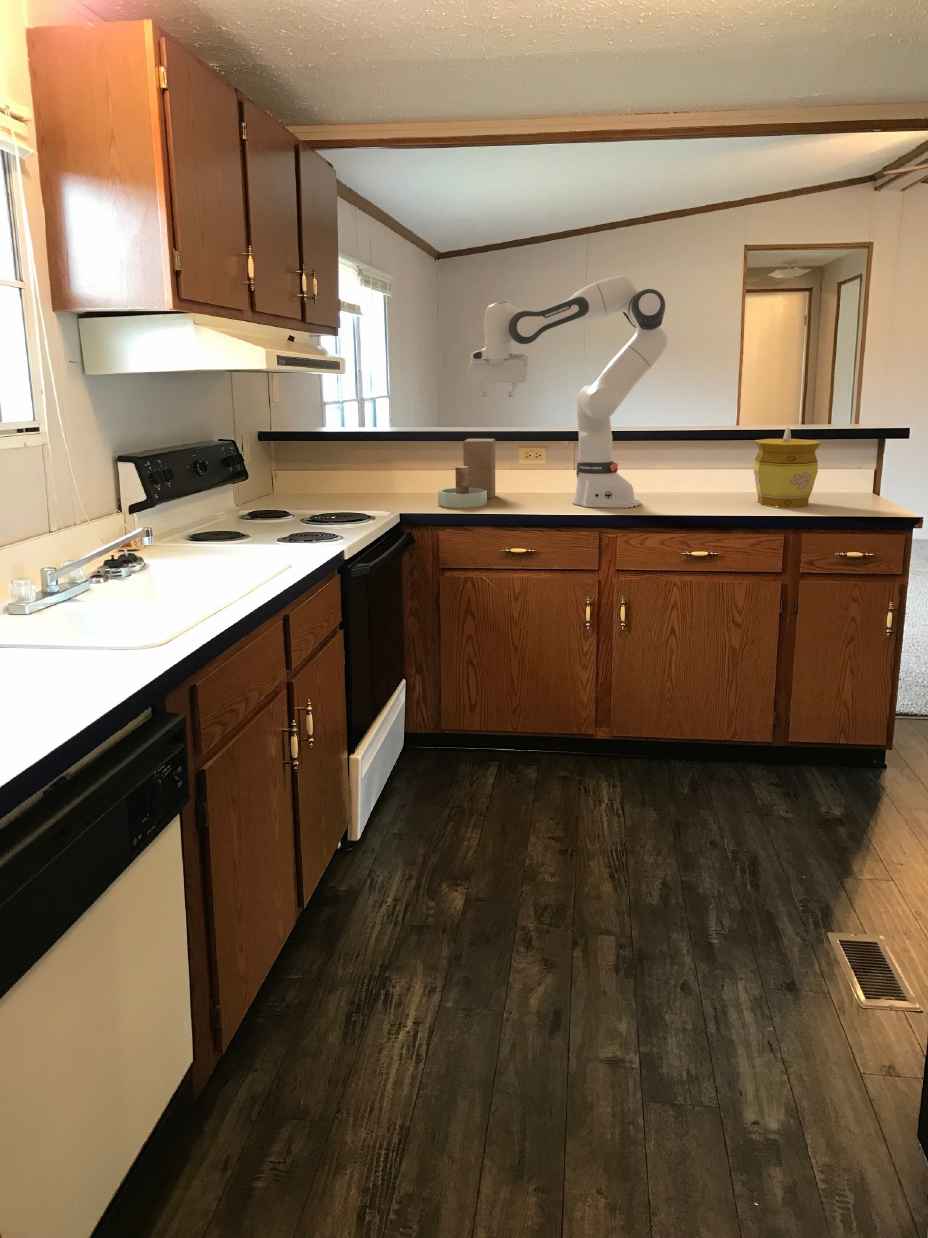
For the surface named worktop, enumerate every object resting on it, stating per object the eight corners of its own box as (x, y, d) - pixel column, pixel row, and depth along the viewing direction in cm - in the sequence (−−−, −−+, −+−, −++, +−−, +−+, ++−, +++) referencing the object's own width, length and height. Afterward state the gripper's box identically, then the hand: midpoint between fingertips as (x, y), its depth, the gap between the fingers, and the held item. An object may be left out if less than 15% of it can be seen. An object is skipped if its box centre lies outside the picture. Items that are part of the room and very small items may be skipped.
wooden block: (491, 499, 345) (491, 441, 340) (463, 498, 347) (462, 441, 341) (495, 495, 355) (495, 438, 349) (467, 494, 356) (467, 438, 351)
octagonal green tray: (490, 501, 339) (490, 488, 337) (476, 508, 325) (476, 494, 324) (449, 500, 344) (449, 486, 342) (433, 506, 330) (433, 492, 329)
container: (743, 506, 324) (748, 428, 317) (756, 497, 342) (762, 424, 335) (810, 510, 314) (817, 430, 308) (820, 501, 332) (827, 425, 326)
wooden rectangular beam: (469, 502, 335) (468, 466, 332) (465, 503, 332) (465, 467, 329) (459, 501, 336) (459, 466, 333) (455, 503, 333) (455, 467, 330)
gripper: (530, 353, 325) (530, 396, 328) (472, 353, 331) (472, 396, 335) (525, 353, 319) (525, 397, 323) (465, 354, 326) (466, 397, 329)
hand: (497, 396), depth 329 cm, fingers open, 8 cm apart
